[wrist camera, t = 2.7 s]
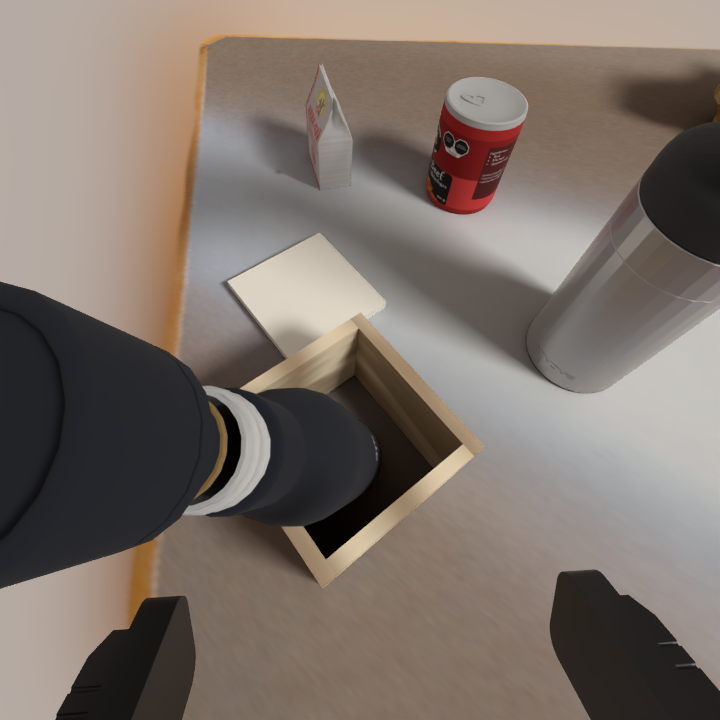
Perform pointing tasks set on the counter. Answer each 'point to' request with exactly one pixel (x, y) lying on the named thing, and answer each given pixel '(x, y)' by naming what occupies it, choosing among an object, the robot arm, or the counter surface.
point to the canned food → (474, 143)
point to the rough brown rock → (719, 97)
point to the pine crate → (398, 399)
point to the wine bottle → (148, 443)
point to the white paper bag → (328, 135)
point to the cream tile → (304, 294)
